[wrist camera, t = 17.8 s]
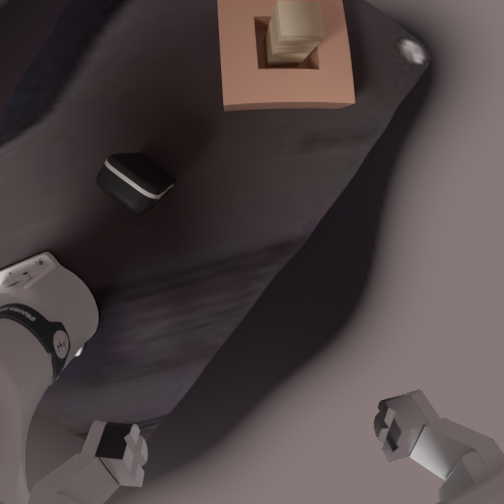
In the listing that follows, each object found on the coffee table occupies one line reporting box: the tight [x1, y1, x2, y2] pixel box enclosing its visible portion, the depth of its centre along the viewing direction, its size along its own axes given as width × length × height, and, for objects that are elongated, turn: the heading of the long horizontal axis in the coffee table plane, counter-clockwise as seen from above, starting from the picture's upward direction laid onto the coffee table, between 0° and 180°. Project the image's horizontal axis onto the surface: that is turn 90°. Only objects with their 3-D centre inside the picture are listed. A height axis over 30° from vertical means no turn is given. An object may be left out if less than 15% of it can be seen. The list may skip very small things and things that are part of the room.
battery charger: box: [97, 153, 175, 214], centre depth 33 cm, size 7×4×11 cm, turn 52°
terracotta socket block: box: [217, 0, 355, 112], centre depth 32 cm, size 15×15×6 cm
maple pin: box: [264, 0, 324, 67], centre depth 28 cm, size 4×4×12 cm
